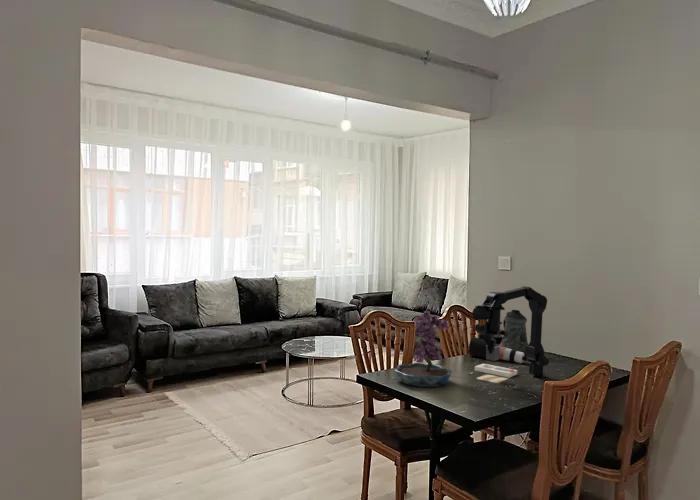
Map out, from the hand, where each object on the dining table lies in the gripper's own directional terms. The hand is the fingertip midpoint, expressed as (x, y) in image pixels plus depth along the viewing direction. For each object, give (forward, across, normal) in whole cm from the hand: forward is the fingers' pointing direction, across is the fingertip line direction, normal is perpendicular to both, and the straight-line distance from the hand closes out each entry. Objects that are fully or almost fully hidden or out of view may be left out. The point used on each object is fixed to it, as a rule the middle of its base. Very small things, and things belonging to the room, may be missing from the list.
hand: (492, 352), depth 249 cm
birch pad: (+13, 0, 0) cm, 13 cm away
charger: (+3, 0, 0) cm, 3 cm away
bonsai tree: (+13, +22, -22) cm, 34 cm away
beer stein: (+13, -65, -19) cm, 69 cm away
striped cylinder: (+13, -43, -16) cm, 48 cm away
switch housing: (+13, -12, -4) cm, 18 cm away
